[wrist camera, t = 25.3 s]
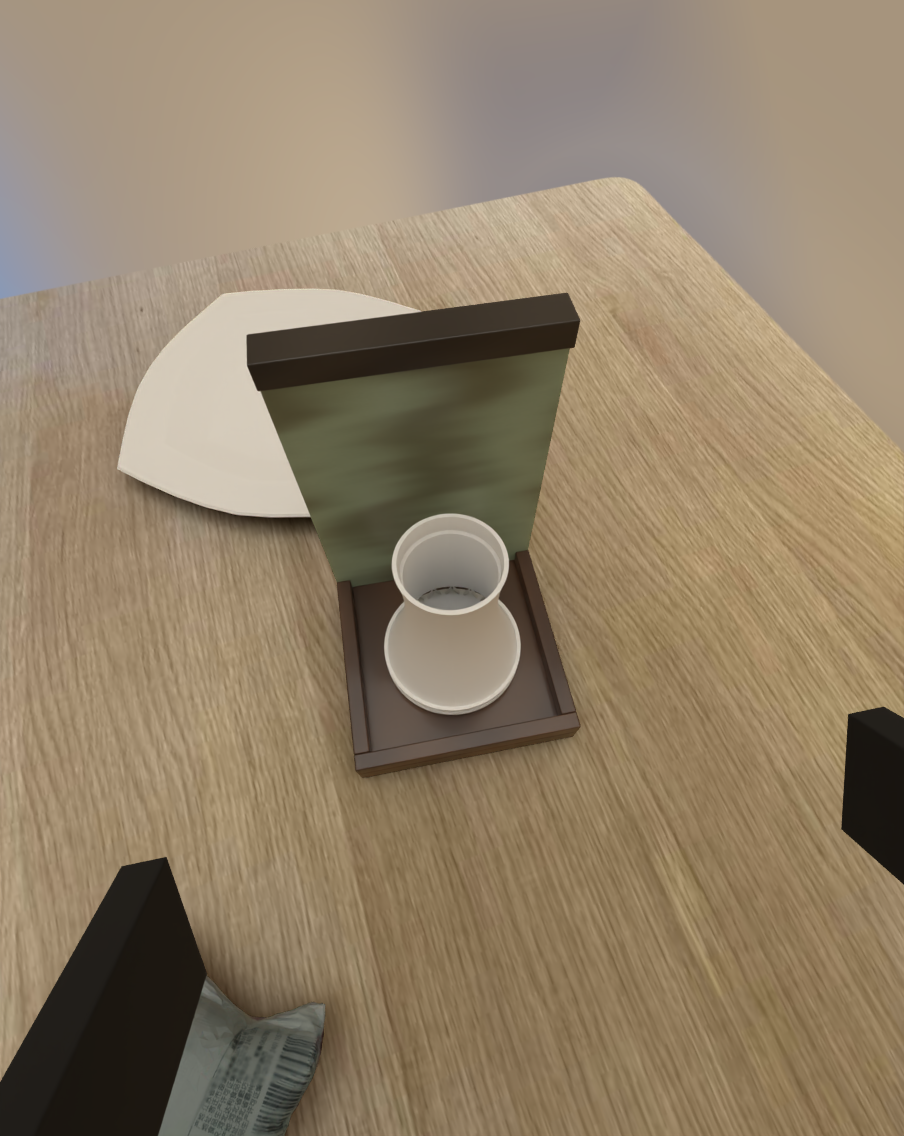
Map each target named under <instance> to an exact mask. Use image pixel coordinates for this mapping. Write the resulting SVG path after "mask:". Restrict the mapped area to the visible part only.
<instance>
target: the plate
mask: <svg viewBox="0 0 904 1136" xmlns="http://www.w3.org/2000/svg"><path fill="white" fill-rule="evenodd" d="M415 312H422V311H419V310H416V309H413V308H410V307H407V306H404V305H400V304H397V303H394V302H391V301H387V300H383V299H379V298H375V297H371V296H367V295H364V294H358V293H353V292H347V291H342V290H332V289H276V290H260V291H246V292H235V293H225V294H222V295H221V296H219V297H218V298H217V299H216V300H215V301H214V302H212V303H211V304H210V305H209V306H208V307H207V308H205V309H204V310H203V311H202V312H201V313H200V314H199V315H197V316H196V317H195V318H194V319H193V320H192V321H191V322H190V323H188V324H187V325H186V326H185V327H184V328H183V329H182V330H181V331H180V332H179V333H178V334H177V335H176V336H175V337H174V338H173V339H172V340H171V341H170V342H169V343H168V344H167V345H166V347H165V348H164V349H163V350H162V351H161V352H160V354H159V355H158V356H157V358H156V359H155V360H154V362H153V363H152V364H151V366H150V367H149V368H148V370H147V372H146V374H145V376H144V378H143V380H142V381H141V383H140V385H139V387H138V389H137V392H136V395H135V397H134V400H133V403H132V406H131V409H130V411H129V415H128V419H127V423H126V427H125V432H124V436H123V440H122V445H121V450H120V456H119V461H118V466H117V469H118V470H120V471H122V472H124V473H126V474H128V475H130V476H132V477H134V478H136V479H138V480H140V481H142V482H144V483H146V484H148V485H150V486H153V487H155V488H157V489H159V490H162V491H164V492H166V493H168V494H171V495H173V496H175V497H178V498H181V499H183V500H186V501H189V502H192V503H195V504H197V505H200V506H203V507H206V508H210V509H214V510H218V511H222V512H226V513H230V514H234V515H238V516H251V517H265V518H311V516H310V514H309V511H308V509H307V506H306V504H305V501H304V499H303V496H302V494H301V491H300V489H299V486H298V484H297V482H296V479H295V477H294V474H293V472H292V469H291V467H290V464H289V462H288V459H287V457H286V454H285V452H284V449H283V447H282V444H281V442H280V439H279V437H278V434H277V432H276V429H275V427H274V424H273V422H272V419H271V417H270V414H269V412H268V409H267V407H266V404H265V402H264V399H263V397H262V394H261V392H260V391H257V389H256V387H255V384H254V382H253V379H252V377H251V375H250V372H249V370H248V367H247V345H246V335H248V334H254V333H262V332H270V331H277V330H285V329H293V328H300V327H308V326H316V325H323V324H331V323H339V322H346V321H354V320H362V319H369V318H377V317H385V316H392V315H400V314H408V313H415Z"/></svg>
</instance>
